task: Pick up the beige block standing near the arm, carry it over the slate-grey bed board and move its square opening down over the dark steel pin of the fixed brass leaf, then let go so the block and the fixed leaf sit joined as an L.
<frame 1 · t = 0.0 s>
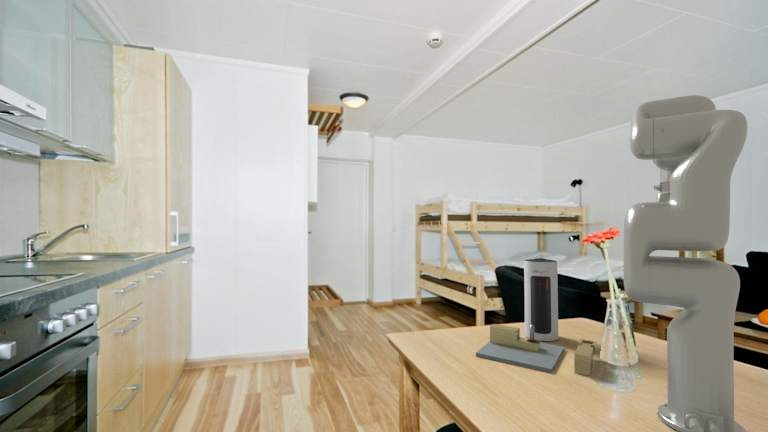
hand: (676, 247, 106), 31 cm above the table, fingers open, 9 cm apart
bed board: (521, 353, 106), on the table
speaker: (541, 337, 121), on the table
beige block: (584, 369, 95), on the table
fixed leaf: (532, 352, 107), resting on bed board
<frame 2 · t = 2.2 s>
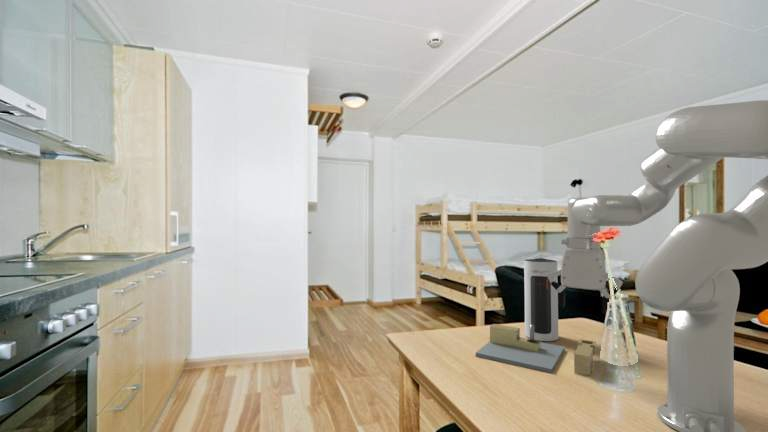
hand: (583, 309, 95), 15 cm above the table, fingers open, 9 cm apart
nothing on the table moved.
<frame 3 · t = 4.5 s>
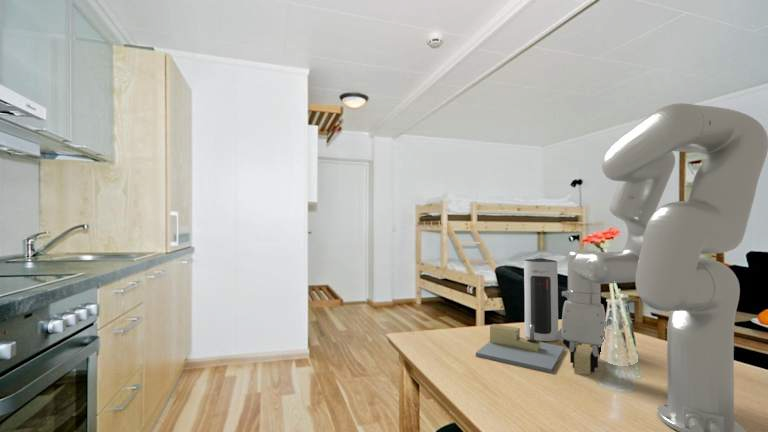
hand: (584, 367, 95), 0 cm above the table, fingers closed on beige block, 3 cm apart
beige block: (583, 369, 94), on the table, touching gripper
everything else where it was.
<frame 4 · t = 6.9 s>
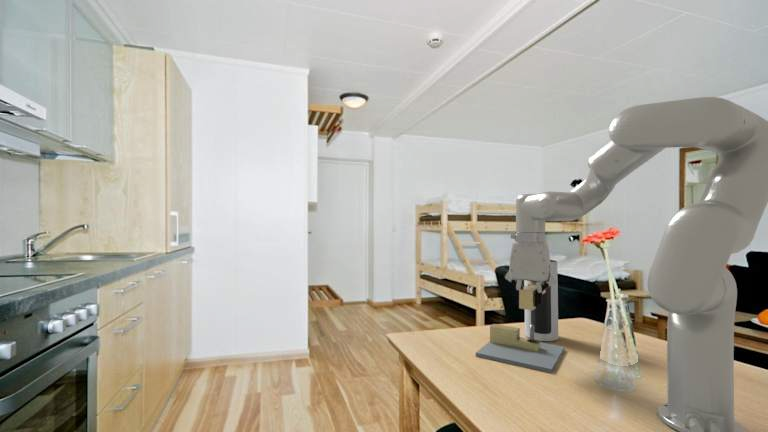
hand: (529, 304, 100), 16 cm above the table, fingers closed on beige block, 3 cm apart
beige block: (529, 306, 100), point 15 cm above the table, touching gripper
everything else where it was.
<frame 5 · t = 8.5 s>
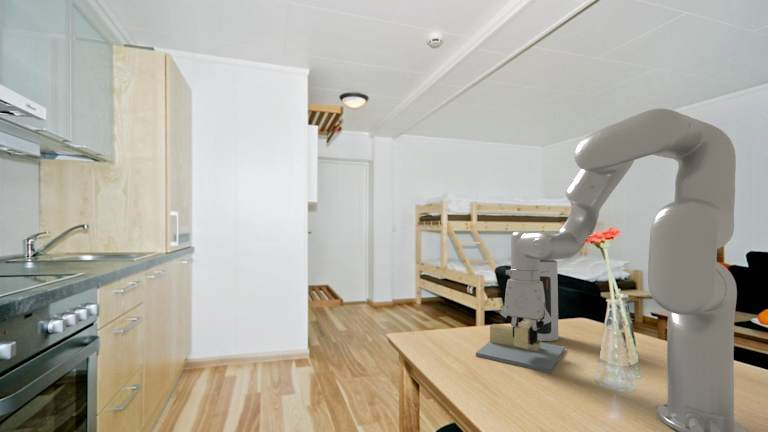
hand: (524, 341, 100), 5 cm above the table, fingers closed on beige block, 3 cm apart
beige block: (524, 343, 100), point 5 cm above the table, touching gripper
everything else where it was.
when the fingers open (3 cm above the table, at t = 9.6 s): beige block drops 1 cm, resting on bed board.
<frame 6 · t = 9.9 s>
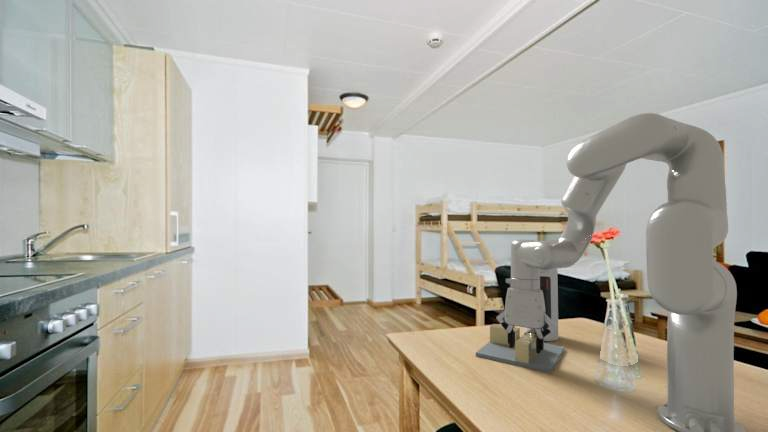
hand: (525, 348, 100), 3 cm above the table, fingers open, 6 cm apart
beige block: (525, 357, 100), point 1 cm above the table, touching bed board
everything else where it was.
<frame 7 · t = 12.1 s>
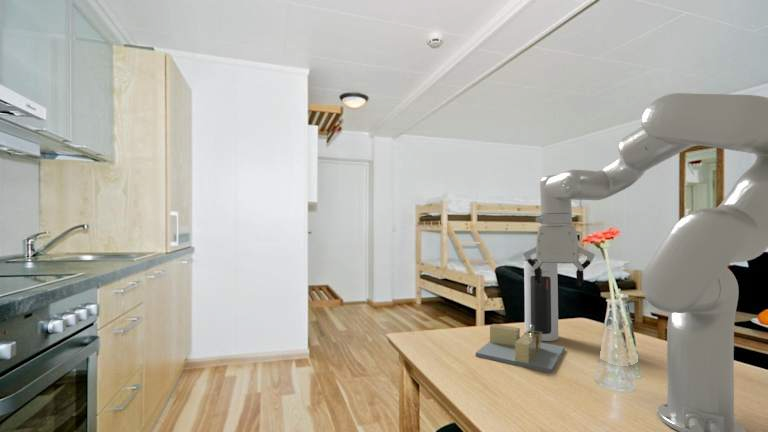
hand: (558, 284, 97), 22 cm above the table, fingers open, 9 cm apart
nothing on the table moved.
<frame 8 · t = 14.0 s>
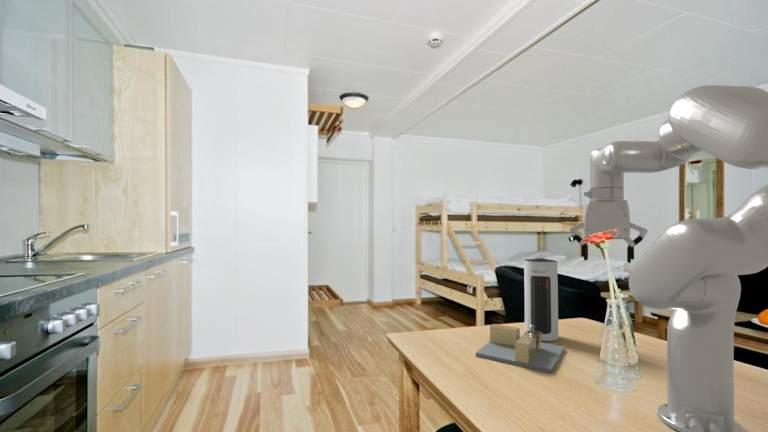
hand: (606, 261, 95), 28 cm above the table, fingers open, 9 cm apart
nothing on the table moved.
at the end: beige block 0.4 cm from the target spot on the table beside the fixed leaf, point 1.0 cm above the table; beige block tilted 0°; the gripper is holding nothing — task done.
